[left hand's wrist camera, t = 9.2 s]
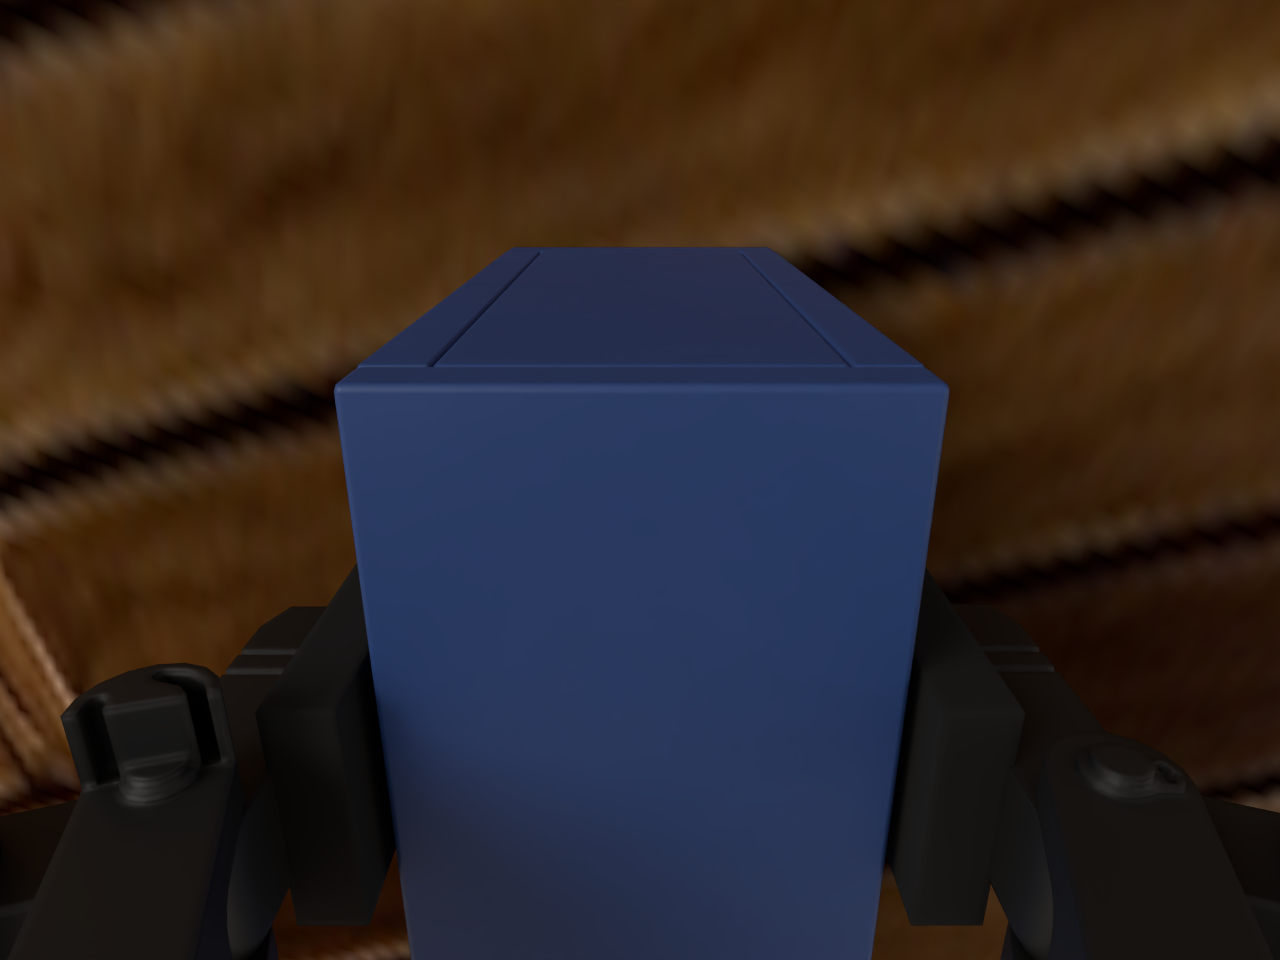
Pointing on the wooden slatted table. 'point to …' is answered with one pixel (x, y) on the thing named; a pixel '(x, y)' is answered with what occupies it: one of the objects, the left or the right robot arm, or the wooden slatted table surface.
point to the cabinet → (641, 604)
